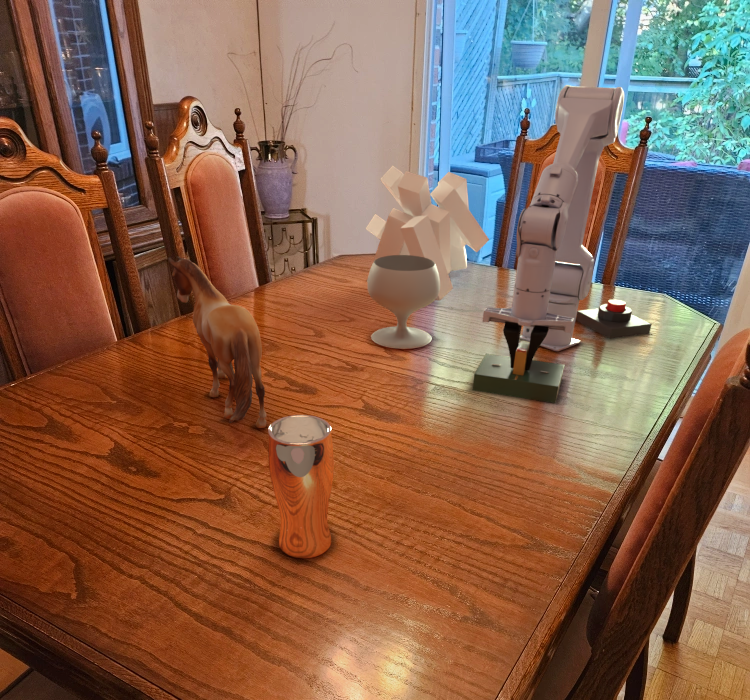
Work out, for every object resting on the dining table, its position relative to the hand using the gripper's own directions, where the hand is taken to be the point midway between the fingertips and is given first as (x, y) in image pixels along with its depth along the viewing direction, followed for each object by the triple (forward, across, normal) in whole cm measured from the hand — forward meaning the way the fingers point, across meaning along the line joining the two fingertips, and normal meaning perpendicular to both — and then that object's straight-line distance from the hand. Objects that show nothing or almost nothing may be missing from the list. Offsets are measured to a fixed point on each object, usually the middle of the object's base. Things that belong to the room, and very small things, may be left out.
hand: (520, 367), depth 114 cm
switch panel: (+3, 0, 0) cm, 3 cm away
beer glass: (+4, -16, -54) cm, 57 cm away
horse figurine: (+4, -44, -28) cm, 52 cm away
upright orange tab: (0, 0, 0) cm, 0 cm away
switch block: (+3, +14, +38) cm, 40 cm away
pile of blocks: (+3, -32, +53) cm, 62 cm away
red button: (0, +14, +38) cm, 40 cm away
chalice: (+3, -26, +14) cm, 29 cm away
